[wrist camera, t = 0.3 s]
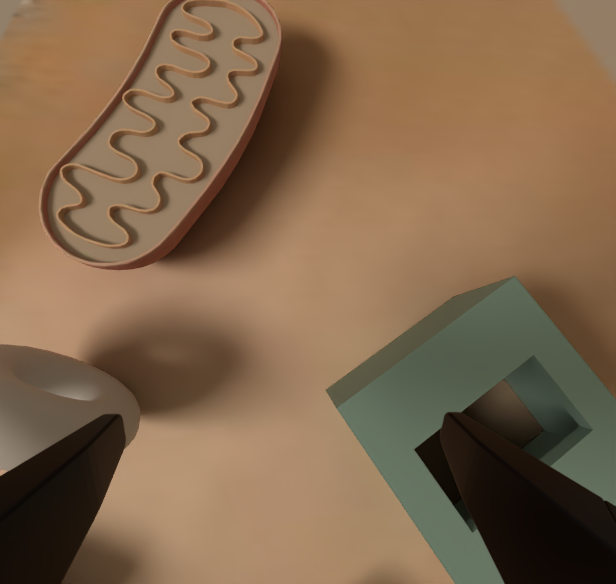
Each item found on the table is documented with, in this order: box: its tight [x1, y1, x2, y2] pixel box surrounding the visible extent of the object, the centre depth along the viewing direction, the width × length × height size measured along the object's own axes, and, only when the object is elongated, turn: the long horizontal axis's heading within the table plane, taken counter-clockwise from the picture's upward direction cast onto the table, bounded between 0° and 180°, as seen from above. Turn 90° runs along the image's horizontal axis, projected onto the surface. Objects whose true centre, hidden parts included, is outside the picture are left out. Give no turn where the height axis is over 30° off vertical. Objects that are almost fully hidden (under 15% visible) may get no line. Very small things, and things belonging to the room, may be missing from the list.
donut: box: [0, 345, 140, 471], centre depth 17 cm, size 10×4×10 cm, turn 63°
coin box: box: [326, 276, 616, 584], centre depth 19 cm, size 12×12×7 cm
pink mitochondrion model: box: [39, 0, 282, 270], centre depth 23 cm, size 23×10×5 cm, turn 154°
